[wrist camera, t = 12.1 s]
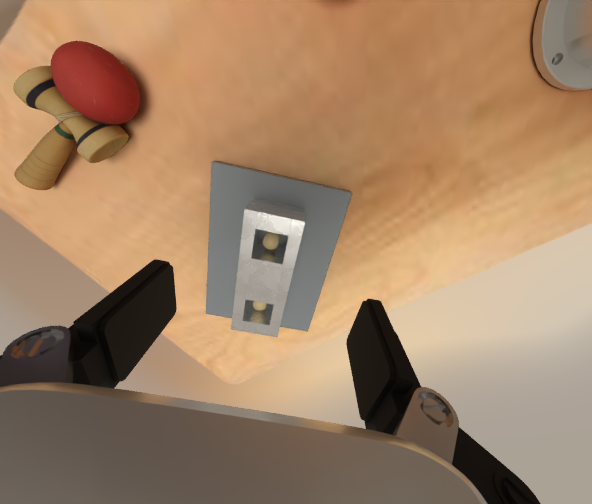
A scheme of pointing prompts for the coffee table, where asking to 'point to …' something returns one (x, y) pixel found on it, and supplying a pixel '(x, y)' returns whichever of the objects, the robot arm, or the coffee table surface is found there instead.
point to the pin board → (310, 247)
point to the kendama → (77, 109)
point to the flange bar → (265, 266)
